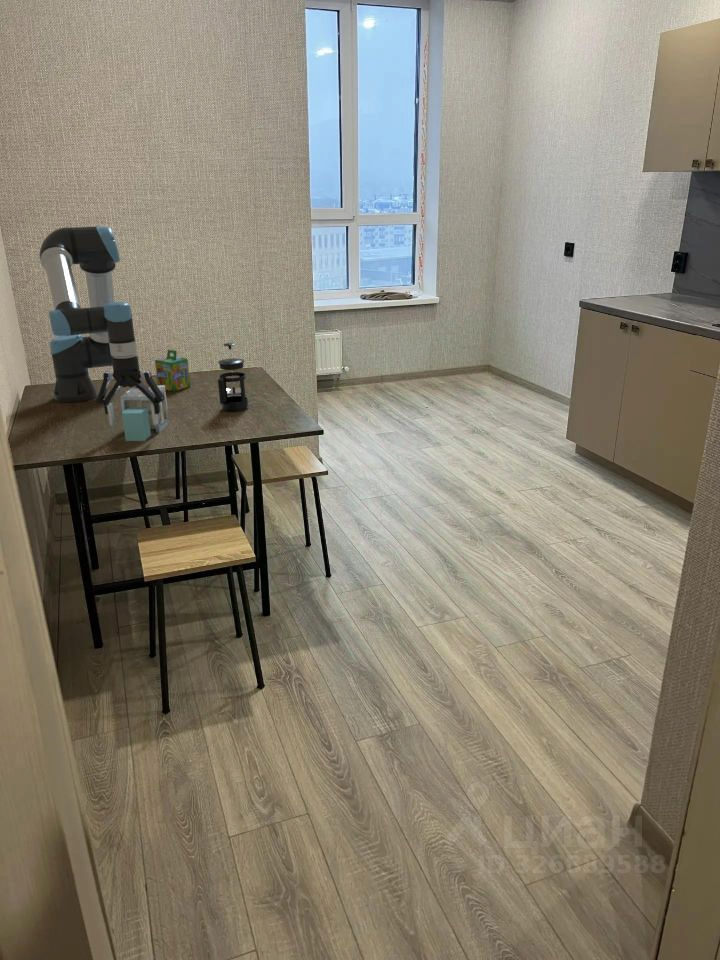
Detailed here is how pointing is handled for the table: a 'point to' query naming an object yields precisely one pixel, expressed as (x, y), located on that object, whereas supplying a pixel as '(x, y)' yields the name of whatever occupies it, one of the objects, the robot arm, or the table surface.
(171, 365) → the chalk box
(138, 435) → the block
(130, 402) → the grey open box
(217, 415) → the table surface
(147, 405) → the bar
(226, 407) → the french press
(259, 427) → the table surface
